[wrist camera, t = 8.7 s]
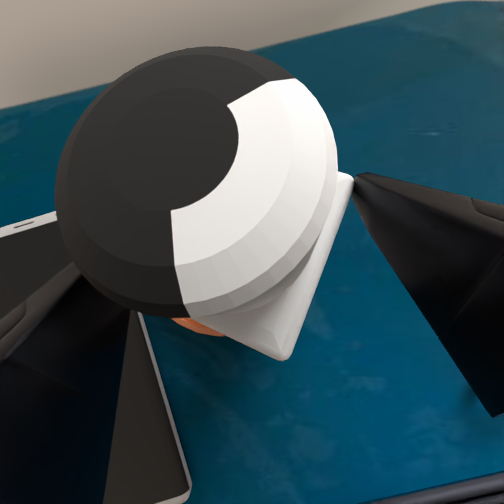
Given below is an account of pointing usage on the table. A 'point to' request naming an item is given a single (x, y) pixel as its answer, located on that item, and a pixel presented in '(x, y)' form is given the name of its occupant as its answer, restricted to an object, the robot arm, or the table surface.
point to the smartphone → (132, 380)
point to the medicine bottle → (205, 194)
